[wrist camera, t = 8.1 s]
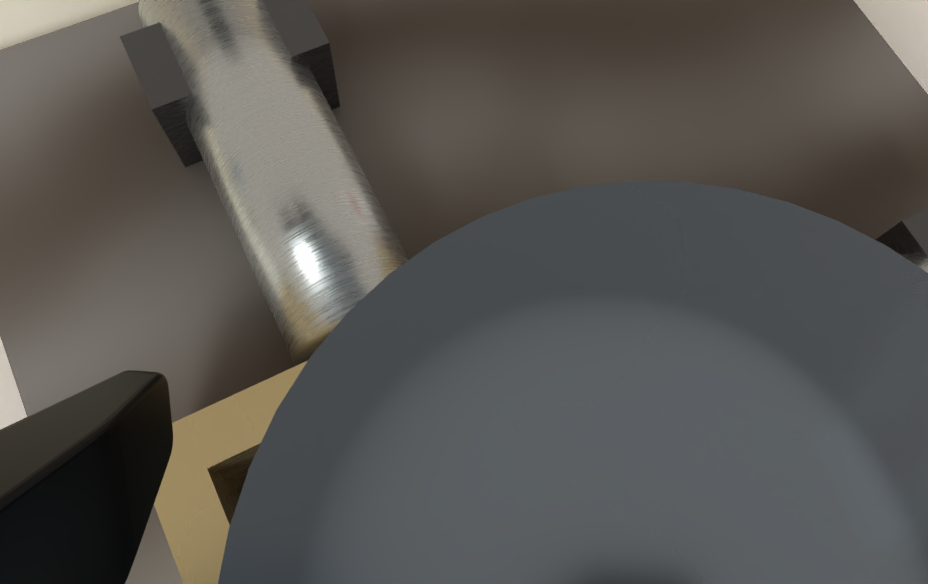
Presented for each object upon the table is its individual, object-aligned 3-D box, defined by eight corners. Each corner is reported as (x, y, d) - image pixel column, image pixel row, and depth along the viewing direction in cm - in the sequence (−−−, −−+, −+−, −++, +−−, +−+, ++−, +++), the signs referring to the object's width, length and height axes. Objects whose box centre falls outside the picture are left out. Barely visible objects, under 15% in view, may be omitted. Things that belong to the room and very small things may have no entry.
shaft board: (1215, 518, 18) (1259, 515, 17) (292, 1136, 14) (282, 1178, 13) (690, -164, 24) (700, -193, 23) (-62, 102, 20) (-86, 79, 19)
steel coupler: (612, 694, 15) (1487, 1284, 3) (344, 724, 15) (68, 1585, 2) (577, 428, 17) (1050, 100, 5) (335, 448, 16) (138, 133, 4)
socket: (1116, 453, 17) (1251, 432, 15) (360, 925, 14) (345, 1017, 11) (680, -126, 22) (717, -226, 20) (42, 107, 19) (-24, 26, 16)
